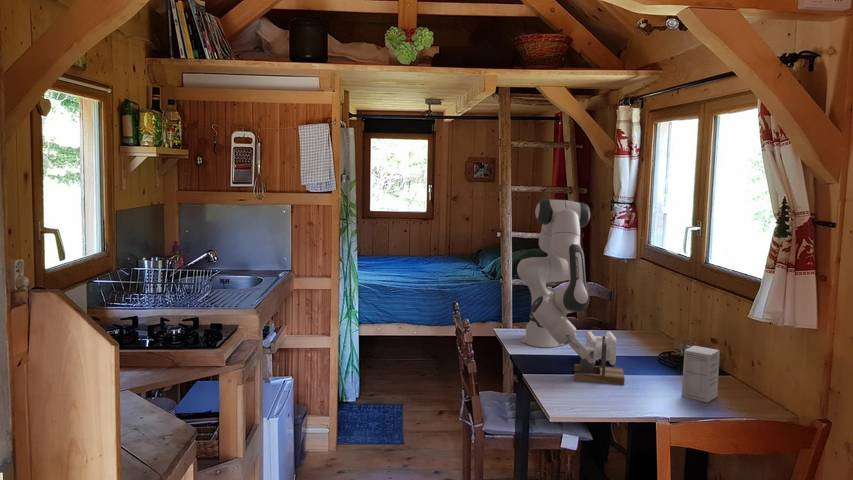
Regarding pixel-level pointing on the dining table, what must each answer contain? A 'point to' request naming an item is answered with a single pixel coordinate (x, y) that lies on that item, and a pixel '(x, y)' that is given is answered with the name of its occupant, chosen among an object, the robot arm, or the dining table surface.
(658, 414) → the dining table surface
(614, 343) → the cable organizer
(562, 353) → the dining table surface
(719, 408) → the dining table surface
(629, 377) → the dining table surface
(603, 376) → the wooden frame
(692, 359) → the supplement box
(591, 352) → the grey mushroom bollard
